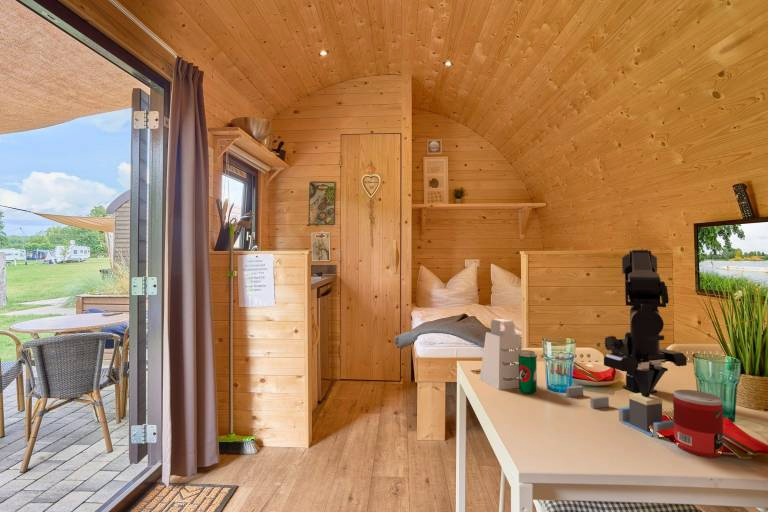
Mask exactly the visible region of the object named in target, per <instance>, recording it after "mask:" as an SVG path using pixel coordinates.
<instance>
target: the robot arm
mask: <svg viewBox="0 0 768 512" xmlns="http://www.w3.org/2000/svg"><path fill="white" fill-rule="evenodd" d="M621 273H622V275H624V295H625V296H624V297H625V299H624V300H625V306H628V307H630V309H629V328H630V329H629V332H627V331H626V332H625V334H624V338H620V339H619V338H617V337H616V336H614V335H613V336H606V337H605V338H604V347H605V350H607V351H611V353H606V354H605V355H603V366H605V367H608V368H611V369H614V370H617V371H621V372H626V373H625V385H622V386H621V387H622V388H623V389H626V390H628V391H632V392H634V393H641V394H642V396H644V397H649V396H650V395H652V394H653V393H657V392H658V390H657V389H655V387H656V386H657V384H658V382H659V381H660V380H661V378H662V377H663V376H664V374H665V373H666V372H668V371H669V369H668V368H667V367H663V364H662V363H665V362H667V363H668V362H670V363H673V364H674V365H675V366H676V367H686V366H687V356H686V355H685V354H684V352H680V351H676V350H671V349H667V348H661V346H660V343H661V342H660V341H665V335H663V334H660V333H661V332H662V331H663V329H664V324H665V323H664V320H663V317H662V316H661V315H660V310H659V309H658V308H667V304H669V301H670V300H669V292H668V286H667V285H666V283H665V281H663V280H661V276H660V274H659V273H658V257H657V256H655V255H654V254H652V250H649V249H632V250H629V252H628V254H626V255H625V256H623V257H622V258H621Z"/></svg>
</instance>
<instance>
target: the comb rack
mask: <svg viewBox="0 0 768 512" xmlns="http://www.w3.org/2000/svg"><path fill="white" fill-rule="evenodd" d="M565 389H566V390H565V396H566V398H567V397H568V398H572V397H581V396H584V386H582V385H574V386H566V388H565ZM589 399H590V408H591V409H593V410H594V409H599V408H607V407H609V405H610V403H609V402H610V400H609V399H610V398H609V396H606V395H601V396H594V397H593V396H592V397H589ZM618 421H619V422H621V424H623V425H626V426H628V427H630V428H633V429H634V430H636V431H639V432H642V433H644V434H646V435H648V436H650V437H654V438H656V439H660V438H659V435H658V434H657V433H656V432H655V431H657V432H658V431H661V430H667V429H673V428H674V420H671V419H669V420H662V421H661V422H654V423H653V433H652V432H651V431H649V432H646V431H644V430H642V429H640V428H638V427H635V426H633V425H631V424H630V408H629V406H624V407H618Z"/></svg>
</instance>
